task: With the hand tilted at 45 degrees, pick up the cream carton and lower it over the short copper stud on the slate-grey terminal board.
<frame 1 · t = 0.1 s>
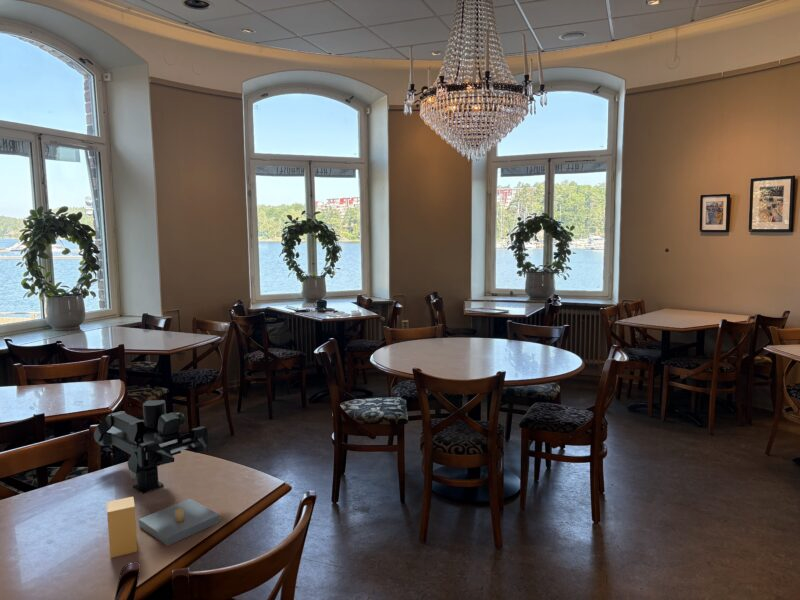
hand: (190, 454, 142), 17 cm above the table, tool horizontal, fingers open, 9 cm apart
terminal board: (179, 524, 139), on the table
caliper: (151, 467, 175), on the table
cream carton: (123, 548, 129), on the table
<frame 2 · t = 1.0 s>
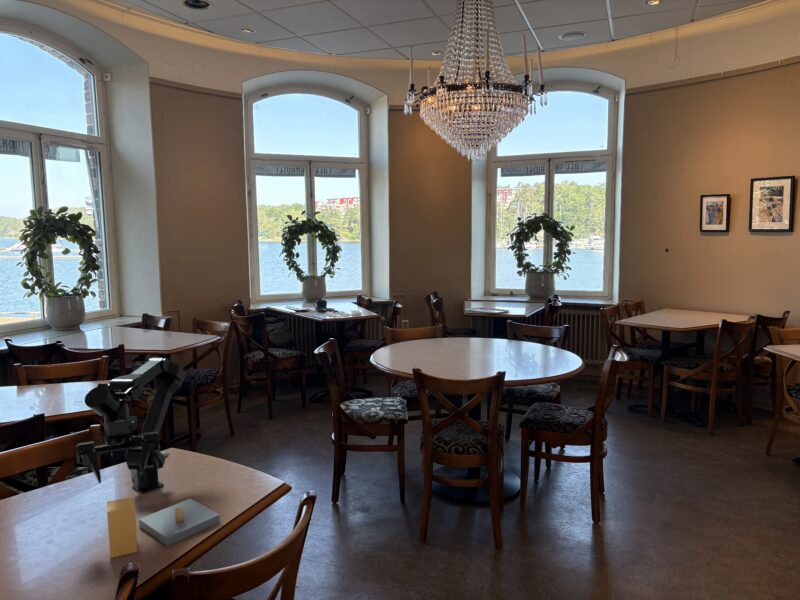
hand: (121, 478, 134), 14 cm above the table, tool tilted 45°, fingers open, 9 cm apart
nothing on the table moved.
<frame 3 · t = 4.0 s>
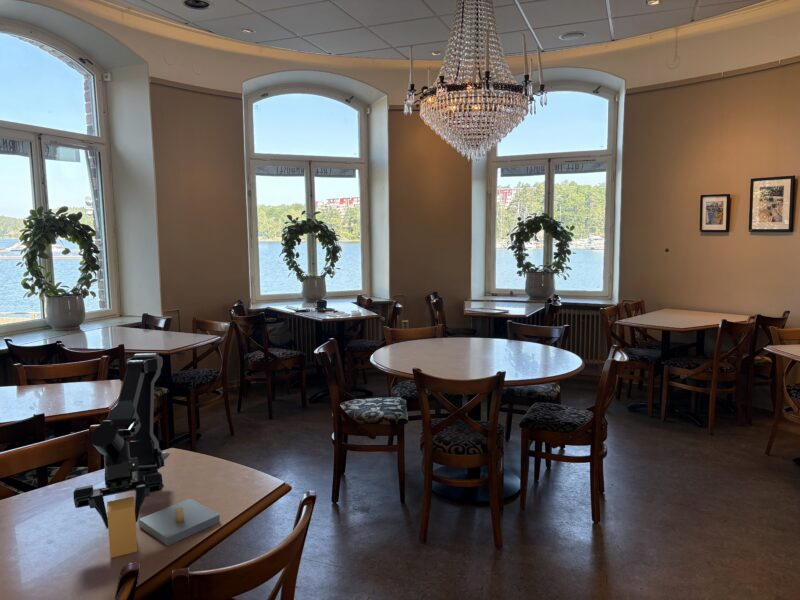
hand: (122, 524, 127), 7 cm above the table, tool tilted 45°, fingers closed on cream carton, 6 cm apart
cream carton: (123, 548, 129), on the table, touching gripper
everything else where it was.
when the fingers open (10 cm above the table, at t = 7.5 s): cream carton drops 1 cm, resting on terminal board.
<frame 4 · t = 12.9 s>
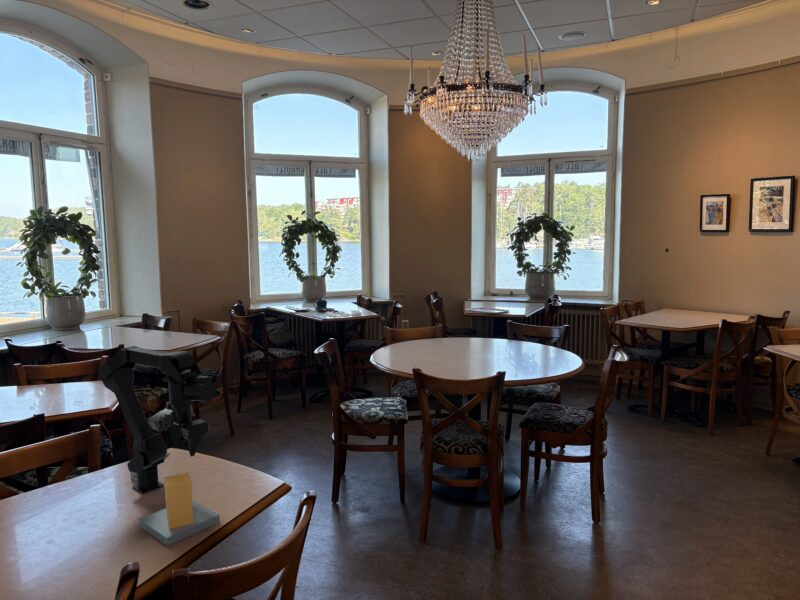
hand: (183, 452, 153), 13 cm above the table, tool pointing down, fingers open, 9 cm apart
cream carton: (179, 521, 137), point 2 cm above the table, touching terminal board
everything else where it was.
at the end: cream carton 0.1 cm from the target spot on the terminal board, point 2.0 cm above the terminal board's base; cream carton tilted 0°; the gripper is holding nothing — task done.
